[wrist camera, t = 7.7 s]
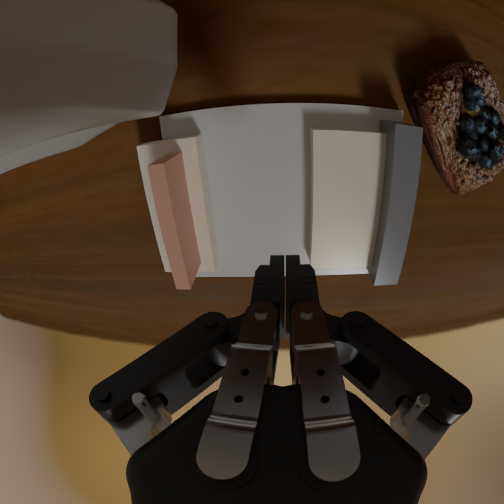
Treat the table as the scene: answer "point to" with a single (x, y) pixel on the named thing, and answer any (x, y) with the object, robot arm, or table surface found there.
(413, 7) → the table surface
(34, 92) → the vase
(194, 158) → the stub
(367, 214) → the white tray
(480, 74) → the pastry
